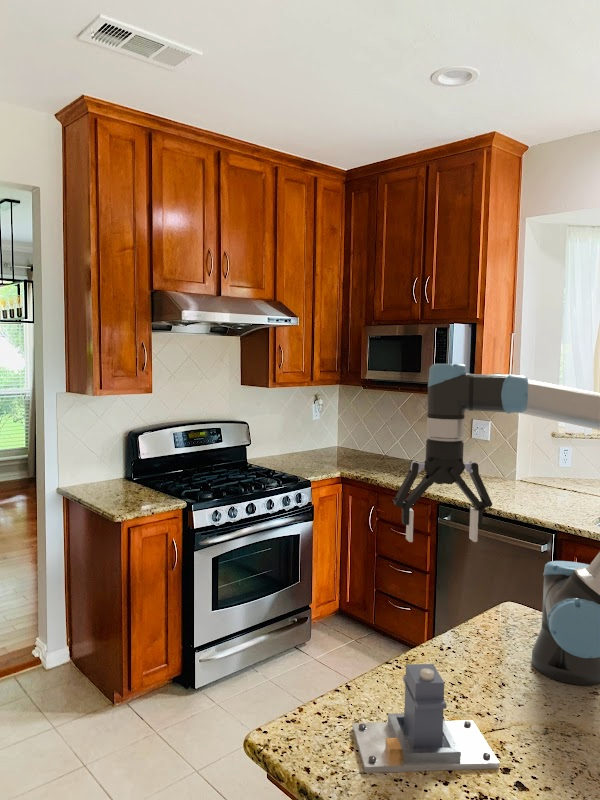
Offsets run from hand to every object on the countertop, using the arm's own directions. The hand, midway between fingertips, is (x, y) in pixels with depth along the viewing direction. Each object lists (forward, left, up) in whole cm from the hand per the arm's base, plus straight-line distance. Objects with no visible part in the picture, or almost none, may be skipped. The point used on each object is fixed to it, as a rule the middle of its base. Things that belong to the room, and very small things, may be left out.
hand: (441, 540), depth 129 cm
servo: (+10, +24, -28) cm, 38 cm away
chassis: (+10, +24, -29) cm, 39 cm away
